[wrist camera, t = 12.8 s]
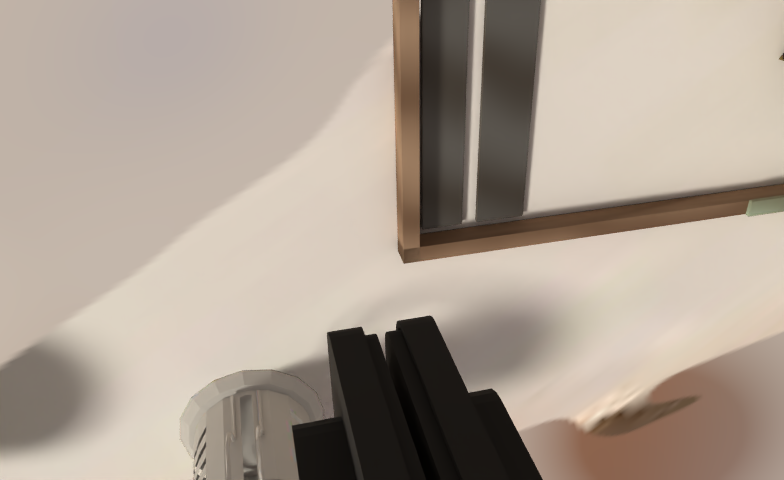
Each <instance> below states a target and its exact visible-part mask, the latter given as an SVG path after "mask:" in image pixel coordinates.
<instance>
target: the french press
mask: <svg viewBox="0 0 784 480" xmlns="http://www.w3.org/2000/svg"><path fill="white" fill-rule="evenodd" d="M323 414H324V410H323V408H322V405H321V403H320V400H319V398H318V396H317V393H316V392H315V391H314V390H313V389H311V388H310V387H309V386H308V385H306V384H305V383H304V382H303V381H302V380H300V379H299V378H298V377H294V376H291V375H288V374H284V373H281V372H277V371H274V370H254V371H240V372H237V373H234V374H232V375H229V376H226V377H223V378H220V379H217V380H214V381H212V382H211V383H210V384H209V385H207V386H206V387H205V388H203V389H202V390H201V391H199V392H198V393H197V394H196V395H194V396H193V397H192V398H191V400H190V401H189V403H188V405H187V407H186V408H185V410H184V412H183V414H182V415H181V417H180V440H181V442H182V444H183V445H184V447H185V449H186V450H187V452H188V453H189V455H190V457H191V458H193V459H194V468H195V466H196V467H197V468H196V471H195V469H194V477H193V480H299V476H298V468H297V461H296V454H295V447H294V439H293V432H292V425H297V424H303V423H308V422H314V421H319V420H323ZM199 469H201V470H202V472H201V474H200V476H199V475H198V471H199ZM205 474H206V478H204V476H205Z"/></svg>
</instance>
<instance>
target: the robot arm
mask: <svg viewBox="0 0 784 480" xmlns="http://www.w3.org/2000/svg"><path fill="white" fill-rule="evenodd" d="M327 341H328V353H329V364H330V374H331V385H332V396H333V407H334V418H330V419H324V420H319V421H314V422H308V423H303V424H297V425H292V432H293V439H294V447H295V454H296V461H297V468H298V476H299V480H543V479H542V477H541V475H540V474H539V472H538V470H537V468H536V466H535V464H534V462H533V460H532V458H531V457H530V454H529V452H528V451H527V449H526V447H525V445H524V443H523V441H522V439H521V437H520V435H519V433H518V431H517V429H516V428H515V426H514V424H513V422H512V420H511V418H510V416H509V414H508V412H507V410H506V408H505V406H504V404H503V403H502V401H501V399H500V397H499V396H498V394H497V393H496V392H495V391H494V390H493V389H487V390H482V391H476V392H471V393H468V391H467V389H466V386H465V384H464V382H463V380H462V378H461V376H460V374H459V372H458V369H457V367H456V365H455V363H454V361H453V359H452V357H451V354H450V352H449V350H448V348H447V346H446V344H445V342H444V340H443V337H442V335H441V333H440V331H439V329H438V327H437V325H436V322H435V320H434V319H433V317H432V316H425V317H419V318H413V319H406V320H400V321H397V324H396V330H395V331H389V332H386V334H385V349H386V360H385V357H384V354H383V351H382V348H381V345H380V342H379V339H378V337H377V335H376V334H371V335H365V334H364V331H363V329H362V327H357V328H351V329H344V330H338V331H332V332H328V333H327Z"/></svg>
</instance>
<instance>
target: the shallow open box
mask: <svg viewBox="0 0 784 480" xmlns="http://www.w3.org/2000/svg"><path fill="white" fill-rule="evenodd" d="M540 3H541V0H485V18H484V40H483V62H482V84H481V107H480V129H479V151H478V173H477V195H476V217H475V220H476V221H477V222H479V221H487V220H494V219H501V218H508V217H516V216H522V214H523V202H524V190H525V178H526V167H527V155H528V143H529V132H530V120H531V108H532V96H533V85H534V73H535V61H536V49H537V38H538V26H539V14H540ZM468 18H469V0H421V227H422V229H428V228H435V227H443V226H450V225H457V224H462V197H463V167H464V137H465V107H466V77H467V48H468ZM393 44H394V90H395V135H396V181H397V226H398V252H399V254H400V256H401V259H402V261H403V263H404V264H405V263H411V262H418V261H425V260H432V259H439V258H446V257H453V256H460V255H466V254H473V253H480V252H487V251H494V250H501V249H508V248H514V247H521V246H528V245H535V244H542V243H549V242H556V241H563V240H569V239H576V238H583V237H590V236H597V235H604V234H611V233H617V232H624V231H631V230H638V229H645V228H652V227H659V226H666V225H672V224H679V223H686V222H693V221H700V220H707V219H714V218H720V217H727V216H734V215H741V214H746V215H747V216H748V217H749V216H756V215H763V214H769V213H776V212H783V211H784V184H779V185H772V186H765V187H758V188H750V189H743V190H736V191H729V192H721V193H714V194H707V195H700V196H692V197H685V198H678V199H671V200H663V201H656V202H649V203H642V204H634V205H627V206H620V207H613V208H605V209H598V210H591V211H584V212H576V213H569V214H562V215H555V216H547V217H540V218H533V219H526V220H519V221H511V222H504V223H497V224H490V225H482V226H475V227H468V228H461V229H453V230H446V231H439V232H432V233H424V234H420V142H419V0H393Z"/></svg>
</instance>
